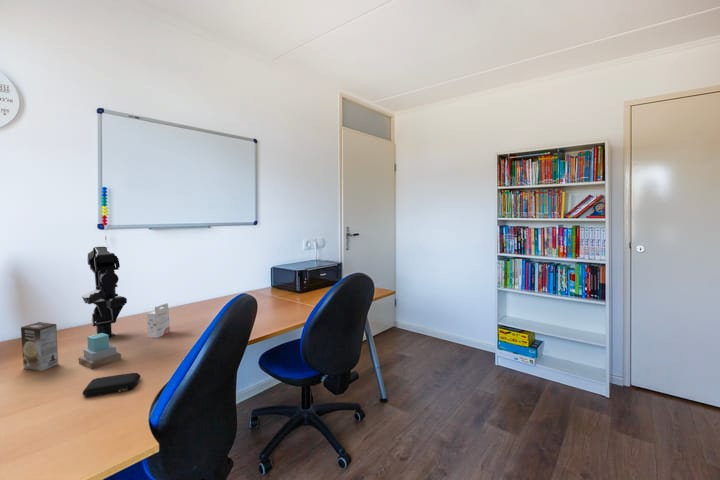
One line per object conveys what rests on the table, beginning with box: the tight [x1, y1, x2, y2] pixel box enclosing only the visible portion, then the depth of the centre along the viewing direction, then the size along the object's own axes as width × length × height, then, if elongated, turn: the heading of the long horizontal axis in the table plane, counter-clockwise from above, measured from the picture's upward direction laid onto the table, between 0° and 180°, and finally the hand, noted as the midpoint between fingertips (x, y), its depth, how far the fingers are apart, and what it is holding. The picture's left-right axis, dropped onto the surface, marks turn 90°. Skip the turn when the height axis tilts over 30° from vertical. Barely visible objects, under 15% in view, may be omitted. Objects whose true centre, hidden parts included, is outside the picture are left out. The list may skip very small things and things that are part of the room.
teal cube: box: [87, 333, 110, 352], centre depth 133 cm, size 5×5×5 cm
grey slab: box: [83, 343, 117, 361], centre depth 134 cm, size 8×8×3 cm
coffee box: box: [20, 321, 59, 372], centre depth 129 cm, size 9×6×16 cm
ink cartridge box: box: [146, 303, 171, 339], centre depth 163 cm, size 9×5×15 cm, turn 168°
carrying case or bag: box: [82, 372, 142, 398], centre depth 113 cm, size 11×3×15 cm
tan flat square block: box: [78, 351, 122, 370], centre depth 134 cm, size 10×10×3 cm
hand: (108, 318), depth 146 cm, fingers open, 9 cm apart
